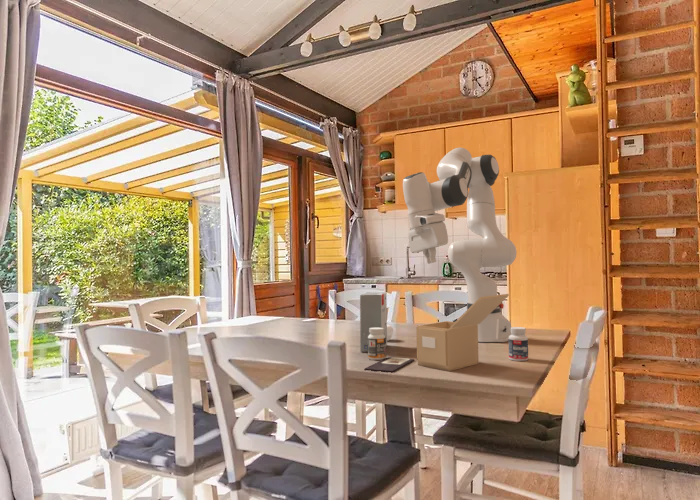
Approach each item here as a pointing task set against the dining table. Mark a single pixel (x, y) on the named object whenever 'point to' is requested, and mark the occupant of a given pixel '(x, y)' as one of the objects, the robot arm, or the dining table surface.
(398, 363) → the chocolate bar
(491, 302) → the flap
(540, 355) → the dining table surface
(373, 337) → the pill bottle
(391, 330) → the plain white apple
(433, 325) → the carton
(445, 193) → the robot arm
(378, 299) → the hard drive box
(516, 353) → the pill bottle
